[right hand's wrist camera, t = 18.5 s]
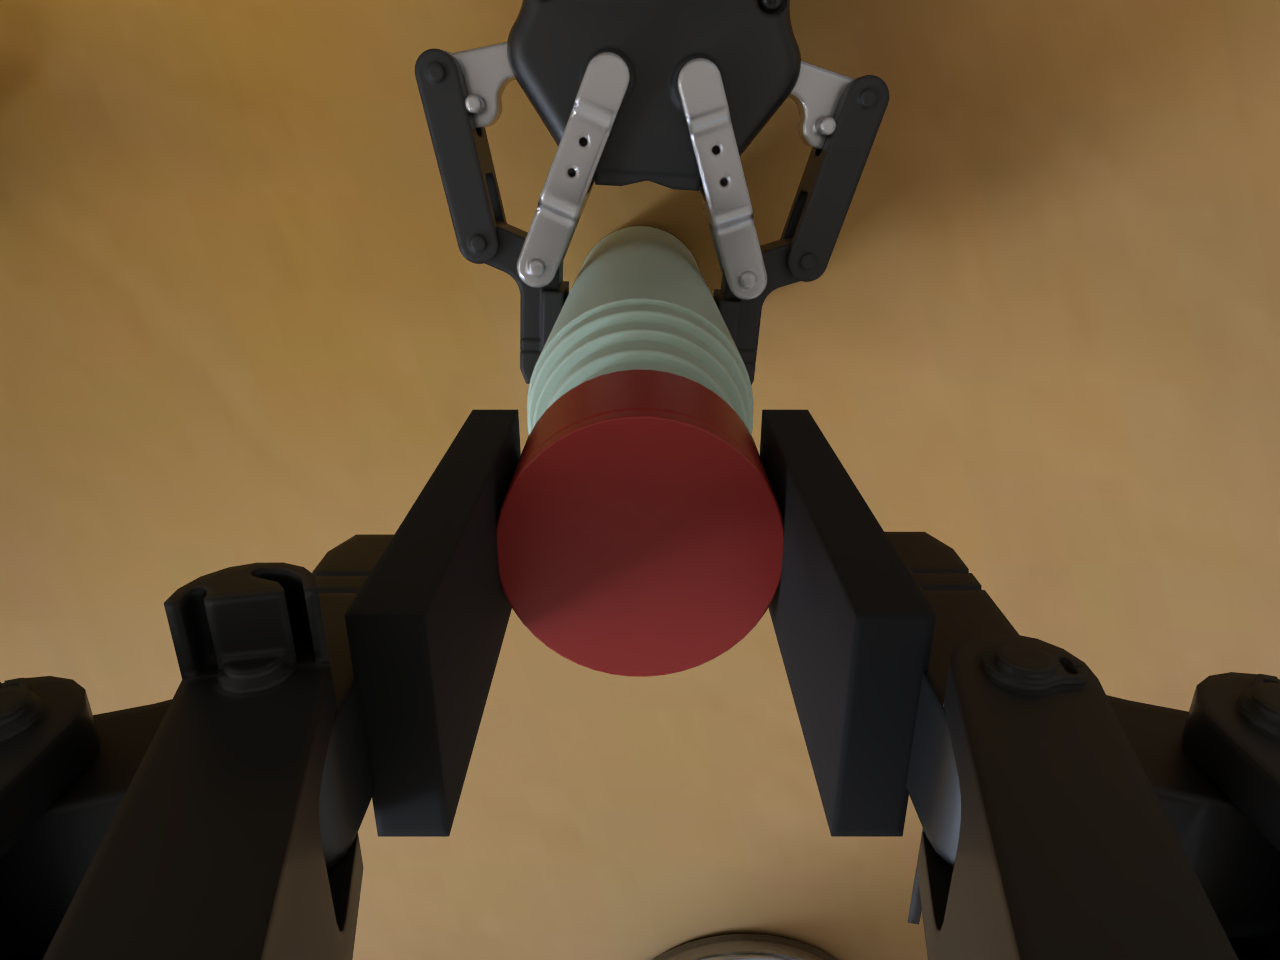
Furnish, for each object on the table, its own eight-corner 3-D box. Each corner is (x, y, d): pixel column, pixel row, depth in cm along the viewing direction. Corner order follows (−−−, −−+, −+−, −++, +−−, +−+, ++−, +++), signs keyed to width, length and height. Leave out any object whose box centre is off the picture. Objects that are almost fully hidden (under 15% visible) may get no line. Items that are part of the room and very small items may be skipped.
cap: (530, 597, 15) (510, 683, 13) (506, 374, 14) (477, 423, 11) (761, 587, 15) (783, 671, 13) (762, 362, 13) (788, 408, 11)
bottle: (578, 223, 32) (466, 370, 11) (706, 228, 33) (827, 384, 11) (577, 348, 34) (478, 674, 13) (697, 353, 34) (788, 685, 13)
